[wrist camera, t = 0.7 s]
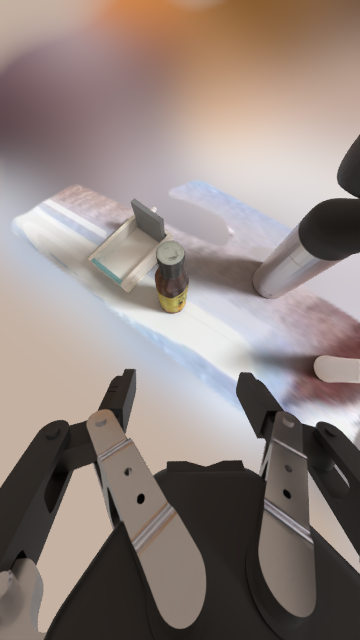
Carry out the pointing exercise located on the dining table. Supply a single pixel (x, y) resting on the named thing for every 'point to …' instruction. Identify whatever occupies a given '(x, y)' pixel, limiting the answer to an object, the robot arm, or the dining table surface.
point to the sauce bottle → (171, 276)
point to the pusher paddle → (149, 220)
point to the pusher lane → (127, 254)
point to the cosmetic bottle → (337, 369)
